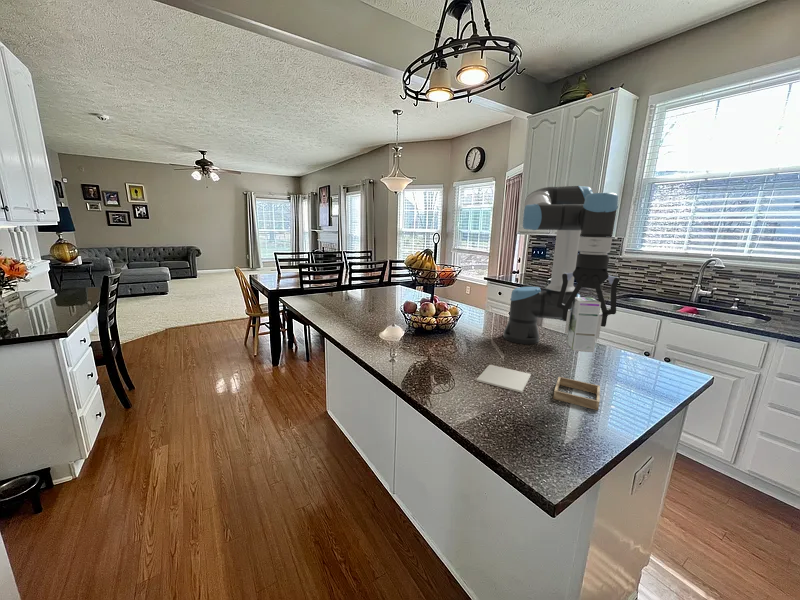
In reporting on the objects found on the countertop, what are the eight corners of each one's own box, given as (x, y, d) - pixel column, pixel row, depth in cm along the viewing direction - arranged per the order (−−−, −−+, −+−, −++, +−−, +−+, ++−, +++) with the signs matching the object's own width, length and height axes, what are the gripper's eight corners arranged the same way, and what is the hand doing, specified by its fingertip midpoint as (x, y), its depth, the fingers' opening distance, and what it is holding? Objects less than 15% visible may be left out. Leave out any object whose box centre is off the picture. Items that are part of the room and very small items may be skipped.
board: (489, 366, 116) (489, 364, 116) (530, 375, 109) (530, 374, 109) (476, 381, 104) (476, 379, 104) (521, 392, 97) (522, 391, 97)
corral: (557, 383, 104) (558, 376, 103) (598, 393, 98) (599, 385, 97) (553, 398, 94) (554, 390, 94) (598, 410, 88) (599, 401, 88)
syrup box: (594, 352, 90) (603, 301, 87) (571, 350, 91) (579, 300, 88) (587, 345, 96) (594, 297, 92) (565, 343, 97) (572, 296, 94)
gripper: (551, 252, 89) (542, 331, 94) (640, 256, 79) (624, 345, 84) (554, 250, 96) (545, 325, 101) (637, 254, 86) (622, 337, 91)
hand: (581, 334), depth 93 cm, fingers closed on syrup box, 7 cm apart
